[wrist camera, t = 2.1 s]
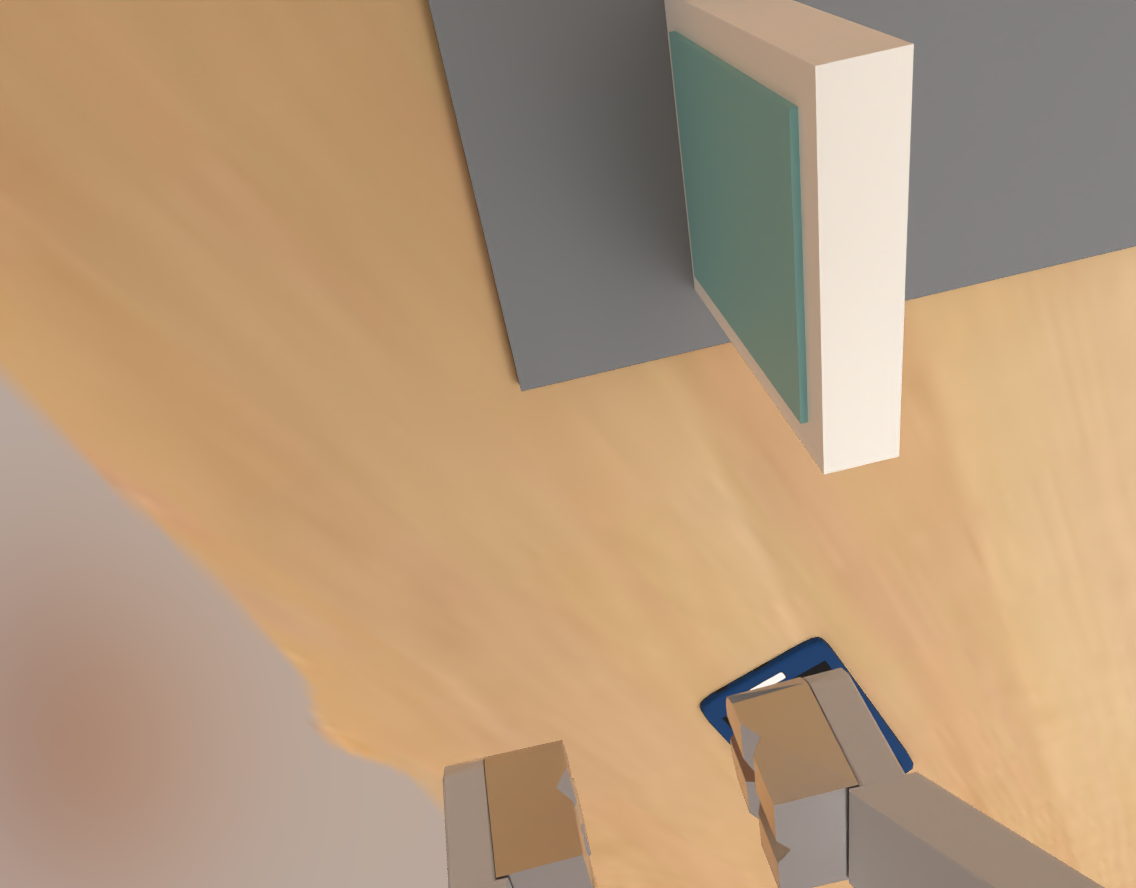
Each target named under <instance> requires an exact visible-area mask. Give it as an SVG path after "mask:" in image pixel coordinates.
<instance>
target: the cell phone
mask: <svg viewBox="0 0 1136 888" xmlns="http://www.w3.org/2000/svg"><path fill="white" fill-rule="evenodd" d="M837 668H842V669H844V670H845V671H846V672H847V673H848V674H849V675H850V677H851V679H852V681H853V682H854V684H855V686H856V688H857V689H858V691H859V693H860V695H861V696H862V698H863V700H864V702H865V704H866V705H867V707H868V709H869V711H870V712H871V714H872V716H873V718H874V719H875V721H876V723H877V725H878V727H879V728H880V730H881V732H882V734H883V735H884V737H885V739H886V741H887V742H888V744H889V746H890V748H891V750H892V751H893V753H894V755H895V757H896V758H897V760H898V762H899V764H900V765H901V767H902V769H903V771H904V773H905V774H906V773H907V772H909V771H910V770H911V769H912V768H913V762H912V760H911V758H910V757H909V755H908V753H907V751H906V750H905V748H904V747H903V745H902V744H901V743H900V741H899V740H898V739H897V737H896V736H895V734H894V733H893V732H892V730H891V729H890V728H889V726H888V725H887V723H886V722H885V721H884V719H883V718H882V717H881V715H880V714H879V712H878V711H877V710H876V708H875V707H874V706H873V704H872V703H871V701H870V700H869V699H868V697H867V696H866V695H865V693H864V692H863V691H862V689H861V688H860V686H859V685H858V684H857V682H856V681H855V680H854V678H853V677H852V675H851V674H850V673H849V671H848V670H847V669H846V667H845V666H844V664H843V663H842V662H841V660H840V659H839V658H838V656H837V655H836V653H835V652H834V651H833V649H832V648H831V647H830V646H829V644H828V643H827V642H826V641H825V640H823V639H822V638H820V637H815V638H812V639H809V640H807V641H805V642H802V643H800V644H799V645H797V646H795V647H793V648H791V649H790V650H788V651H786V652H784V653H783V654H781V655H779V656H777V657H775V658H774V659H772V660H770V661H768V662H767V663H765V664H763V665H761V666H760V667H758V668H756V669H754V670H753V671H751V672H749V673H747V674H745V675H744V676H742V677H740V678H738V679H737V680H735V681H733V682H731V683H730V684H728V685H726V686H724V687H722V688H721V689H719V690H717V691H715V692H714V693H712V694H711V695H709V696H708V697H706V698H705V699H704V700H703V701H702V702H701V704H700V708H701V711H702V712H703V714H704V715H705V717H706V718H707V719H708V721H709V722H710V723H711V724H712V725H713V726H714V728H715V729H716V730H717V731H718V732H719V733H720V734H721V735H722V736H723V737H724V738H725V739H726V740H727V741H728V743H729V744H730V745H731V743H730V738H731V737H732V735H733V734H734V732H733V730H732V727H731V725H730V722H729V719H728V717H727V709H726V699H727V697H728V696H731V695H735V694H739V693H742V692H746V691H750V690H754V689H757V688H761V687H765V686H769V685H772V684H776V683H780V682H784V681H787V680H791V679H795V678H799V677H801V678H803V677H807V676H811V675H814V674H818V673H822V672H826V671H830V670H834V669H837Z"/></svg>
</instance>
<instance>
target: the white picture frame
mask: <svg viewBox="0 0 1136 888" xmlns="http://www.w3.org/2000/svg"><path fill="white" fill-rule="evenodd" d="M664 3H665V13H666V22H667V32H668V41H669V51H670V60H671V70H672V79H673V89H674V98H675V108H676V117H677V127H678V136H679V145H680V155H681V164H682V174H683V183H684V193H685V202H686V212H687V221H688V231H689V240H690V250H691V259H692V269H693V278H694V288H695V291H696V292H697V293H698V295H699V296H700V298H701V299H702V301H703V302H704V303H705V305H706V306H707V308H708V309H709V311H710V312H711V313H712V315H713V316H714V318H715V319H716V321H717V322H718V323H719V325H720V326H721V328H722V329H723V331H724V332H725V334H726V335H727V336H728V338H729V339H730V341H731V342H732V344H733V345H734V346H735V348H736V349H737V351H738V352H739V354H740V355H741V356H742V358H743V359H744V361H745V362H746V364H747V365H748V367H749V368H750V369H751V371H752V372H753V374H754V375H755V377H756V378H757V379H758V381H759V382H760V384H761V385H762V387H763V388H764V389H765V391H766V392H767V394H768V395H769V397H770V398H771V400H772V401H773V402H774V404H775V405H776V407H777V408H778V410H779V411H780V412H781V414H782V415H783V417H784V418H785V420H786V421H787V422H788V424H789V425H790V427H791V428H792V430H793V431H794V432H795V434H796V435H797V437H798V438H799V440H800V441H801V443H802V444H803V445H804V447H805V448H806V450H807V451H808V453H809V454H810V455H811V457H812V458H813V460H814V461H815V463H816V464H817V465H818V467H819V468H820V470H821V471H822V473H823V474H828V473H832V472H837V471H841V470H845V469H849V468H853V467H857V466H861V465H865V464H870V463H874V462H878V461H882V460H886V459H890V458H894V457H898V456H899V441H900V413H901V386H902V358H903V330H904V303H905V275H906V248H907V220H908V192H909V165H910V137H911V110H912V82H913V54H914V44H913V43H910V42H907V41H905V40H902V39H899V38H896V37H894V36H891V35H888V34H885V33H882V32H880V31H877V30H874V29H871V28H869V27H866V26H863V25H860V24H858V23H855V22H852V21H849V20H846V19H844V18H841V17H838V16H835V15H833V14H830V13H827V12H824V11H821V10H819V9H816V8H813V7H810V6H808V5H805V4H802V3H799V2H797V1H794V0H664Z"/></svg>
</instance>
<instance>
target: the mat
mask: <svg viewBox="0 0 1136 888" xmlns="http://www.w3.org/2000/svg"><path fill="white" fill-rule="evenodd" d="M794 1H797V2H799V3H802V4H805V5H808V6H810V7H813V8H816V9H819V10H821V11H824V12H827V13H830V14H833V15H835V16H838V17H841V18H844V19H846V20H849V21H852V22H855V23H858V24H860V25H863V26H866V27H869V28H871V29H874V30H877V31H880V32H882V33H885V34H888V35H891V36H894V37H896V38H899V39H902V40H905V41H907V42H910V43H913V44H914V54H913V82H912V110H911V137H910V165H909V192H908V220H907V248H906V275H905V301H906V300H910V299H915V298H919V297H923V296H927V295H931V294H936V293H940V292H944V291H948V290H953V289H957V288H961V287H965V286H970V285H974V284H978V283H982V282H986V281H991V280H995V279H999V278H1003V277H1008V276H1012V275H1016V274H1020V273H1024V272H1029V271H1033V270H1037V269H1041V268H1046V267H1050V266H1054V265H1058V264H1063V263H1067V262H1071V261H1075V260H1079V259H1084V258H1088V257H1092V256H1096V255H1101V254H1105V253H1109V252H1113V251H1118V250H1122V249H1126V248H1130V247H1134V246H1136V0H794ZM428 2H429V6H430V10H431V14H432V19H433V23H434V27H435V31H436V35H437V40H438V44H439V48H440V52H441V56H442V61H443V65H444V69H445V73H446V77H447V82H448V86H449V90H450V94H451V98H452V103H453V107H454V111H455V115H456V119H457V123H458V128H459V132H460V136H461V140H462V144H463V149H464V153H465V157H466V161H467V165H468V170H469V174H470V178H471V182H472V186H473V191H474V195H475V199H476V203H477V207H478V212H479V216H480V220H481V224H482V228H483V233H484V237H485V241H486V245H487V249H488V254H489V258H490V262H491V266H492V270H493V274H494V279H495V283H496V287H497V291H498V295H499V300H500V304H501V308H502V312H503V316H504V321H505V325H506V329H507V333H508V337H509V342H510V346H511V350H512V354H513V358H514V363H515V367H516V371H517V375H518V379H519V384H520V388H521V391H525V390H530V389H534V388H538V387H542V386H547V385H551V384H555V383H559V382H564V381H568V380H572V379H576V378H580V377H585V376H589V375H593V374H597V373H602V372H606V371H610V370H614V369H618V368H623V367H627V366H631V365H635V364H640V363H644V362H648V361H652V360H657V359H661V358H665V357H669V356H673V355H678V354H682V353H686V352H690V351H695V350H699V349H703V348H707V347H712V346H716V345H720V344H724V343H728V342H731V341H730V339H729V338H728V336H727V335H726V334H725V332H724V331H723V329H722V328H721V326H720V325H719V323H718V322H717V321H716V319H715V318H714V316H713V315H712V313H711V312H710V311H709V309H708V308H707V306H706V305H705V303H704V302H703V301H702V299H701V298H700V296H699V295H698V293H697V292H696V291H695V288H694V278H693V269H692V259H691V250H690V240H689V231H688V221H687V212H686V202H685V193H684V183H683V174H682V164H681V155H680V145H679V136H678V127H677V117H676V108H675V98H674V89H673V79H672V70H671V60H670V51H669V41H668V32H667V22H666V13H665V3H664V0H428Z"/></svg>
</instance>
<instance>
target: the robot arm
mask: <svg viewBox="0 0 1136 888" xmlns="http://www.w3.org/2000/svg"><path fill="white" fill-rule="evenodd" d="M726 709H727V717H728V719H729V722H730V725H731V727H732V730H733V732H734V734H733V735H732V737H731V738H730V743H731V749H732V756H733V760H734V765H735V769H736V773H737V778H738V781H739V784H740V787H741V790H742V793H743V796H744V799H745V801H746V804H747V807H748V810H749V812H750V813H751V814H752V815H754V816H755V817H757V818H758V819H759V826H760V835H761V844H762V847H763V850H764V852H765V855H766V858H767V860H768V863H769V865H770V868H771V871H772V873H773V876H774V878H775V881H776V884H777V886H778V888H813V887H817V886H821V885H826V884H830V883H834V882H839V881H843V880H847V879H849V883H850V884H851V885H852V886H853V887H854V888H1104V887H1102V886H1101V885H1099V884H1097V883H1096V882H1094V881H1093V880H1091V879H1089V878H1088V877H1086V876H1084V875H1083V874H1081V873H1080V872H1078V871H1076V870H1075V869H1073V868H1072V867H1070V866H1068V865H1067V864H1065V863H1064V862H1062V861H1060V860H1059V859H1057V858H1055V857H1054V856H1052V855H1051V854H1049V853H1047V852H1046V851H1044V850H1043V849H1041V848H1039V847H1038V846H1036V845H1034V844H1033V843H1031V842H1030V841H1028V840H1026V839H1025V838H1023V837H1022V836H1020V835H1018V834H1017V833H1015V832H1014V831H1012V830H1010V829H1009V828H1007V827H1005V826H1004V825H1002V824H1001V823H999V822H997V821H996V820H994V819H993V818H991V817H989V816H988V815H986V814H984V813H983V812H981V811H980V810H978V809H976V808H975V807H973V806H972V805H970V804H968V803H967V802H965V801H964V800H962V799H960V798H959V797H957V796H955V795H954V794H952V793H951V792H949V791H947V790H946V789H944V788H943V787H941V786H939V785H938V784H936V783H934V782H933V781H931V780H930V779H928V778H926V777H925V776H923V775H922V774H920V773H918V772H914V773H910V774H905V773H904V771H903V769H902V767H901V765H900V764H899V762H898V760H897V758H896V757H895V755H894V753H893V751H892V750H891V748H890V746H889V744H888V742H887V741H886V739H885V737H884V735H883V734H882V732H881V730H880V728H879V727H878V725H877V723H876V721H875V719H874V718H873V716H872V714H871V712H870V711H869V709H868V707H867V705H866V704H865V702H864V700H863V698H862V696H861V695H860V693H859V691H858V689H857V688H856V686H855V684H854V682H853V681H852V679H851V677H850V675H849V674H848V673H847V672H846V671H845V670H844V669H842V668H837V669H834V670H830V671H826V672H822V673H818V674H814V675H811V676H807V677H803V678H801V677H799V678H795V679H791V680H787V681H784V682H780V683H776V684H772V685H769V686H765V687H761V688H757V689H754V690H750V691H746V692H742V693H739V694H735V695H731V696H728V697H727V699H726ZM443 796H444V814H445V831H446V832H445V833H446V850H447V870H448V888H598V887H597V883H596V879H595V876H594V872H593V868H592V865H591V861H590V857H589V856H590V854H591V852H590V847H589V842H588V837H587V833H586V828H585V823H584V819H583V814H582V810H581V806H580V801H579V797H578V793H577V790H576V786H575V782H574V778H572V776H571V771H570V767H569V762H568V757H567V753H566V750H565V747H564V744H563V740H560V741H555V742H551V743H546V744H542V745H537V746H533V747H528V748H524V749H520V750H515V751H511V752H506V753H502V754H497V755H493V756H488V757H484V758H480V759H475V760H471V761H467V762H463V763H459V764H455V765H451V766H447V767H445V769H444V775H443Z"/></svg>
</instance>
